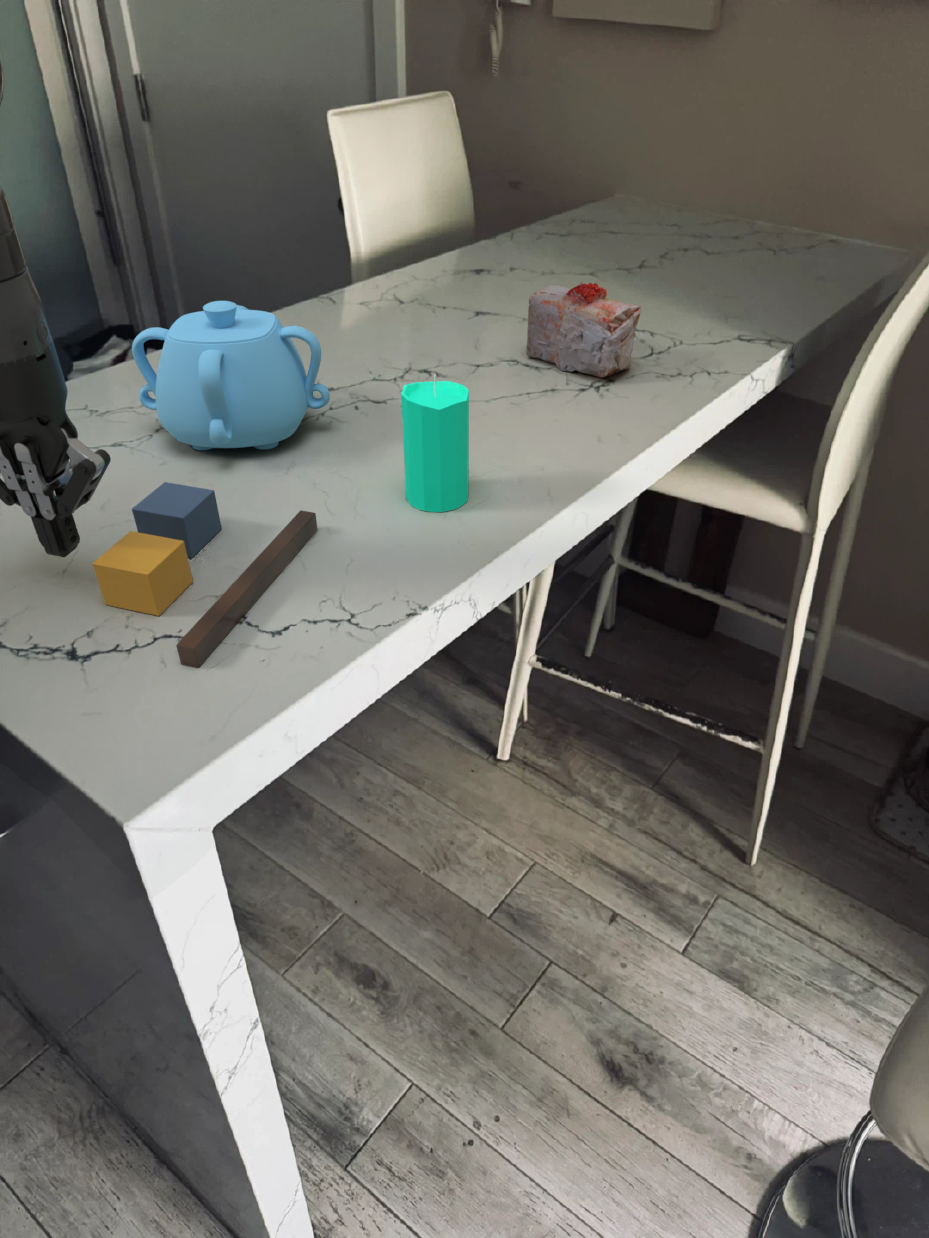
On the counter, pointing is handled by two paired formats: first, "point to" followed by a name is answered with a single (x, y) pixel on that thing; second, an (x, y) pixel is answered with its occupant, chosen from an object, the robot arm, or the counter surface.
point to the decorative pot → (230, 377)
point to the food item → (581, 329)
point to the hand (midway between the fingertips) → (63, 550)
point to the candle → (436, 444)
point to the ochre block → (143, 573)
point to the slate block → (179, 515)
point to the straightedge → (245, 590)
